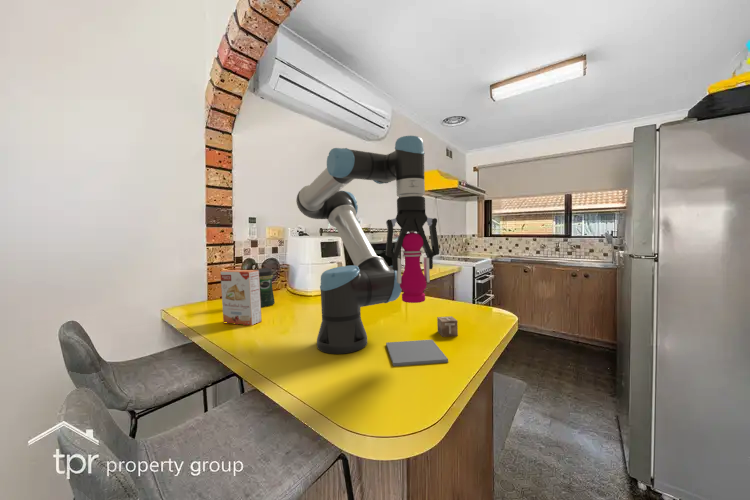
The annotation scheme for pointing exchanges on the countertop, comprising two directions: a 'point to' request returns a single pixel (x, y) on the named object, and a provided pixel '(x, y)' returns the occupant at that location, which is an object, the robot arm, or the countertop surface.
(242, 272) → the cracker box
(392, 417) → the countertop surface
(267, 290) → the coffee jar
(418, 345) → the grey mat
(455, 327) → the marked cube
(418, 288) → the pepper mill
